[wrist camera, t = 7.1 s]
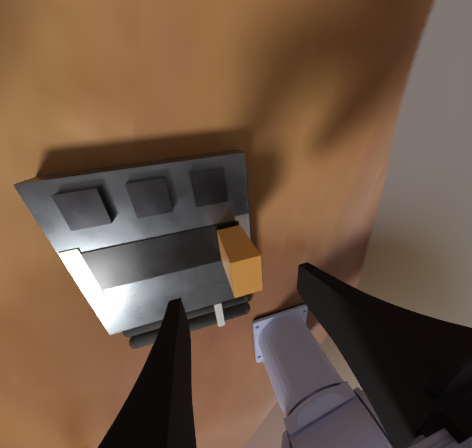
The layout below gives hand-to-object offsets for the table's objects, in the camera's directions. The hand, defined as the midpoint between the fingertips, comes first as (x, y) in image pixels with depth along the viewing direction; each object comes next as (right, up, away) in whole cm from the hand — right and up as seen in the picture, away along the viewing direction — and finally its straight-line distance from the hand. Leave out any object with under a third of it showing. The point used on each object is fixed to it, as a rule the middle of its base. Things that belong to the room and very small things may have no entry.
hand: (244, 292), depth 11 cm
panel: (-6, +2, +6) cm, 9 cm away
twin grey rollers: (-6, -6, +10) cm, 13 cm away
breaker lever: (-1, +2, +5) cm, 6 cm away
